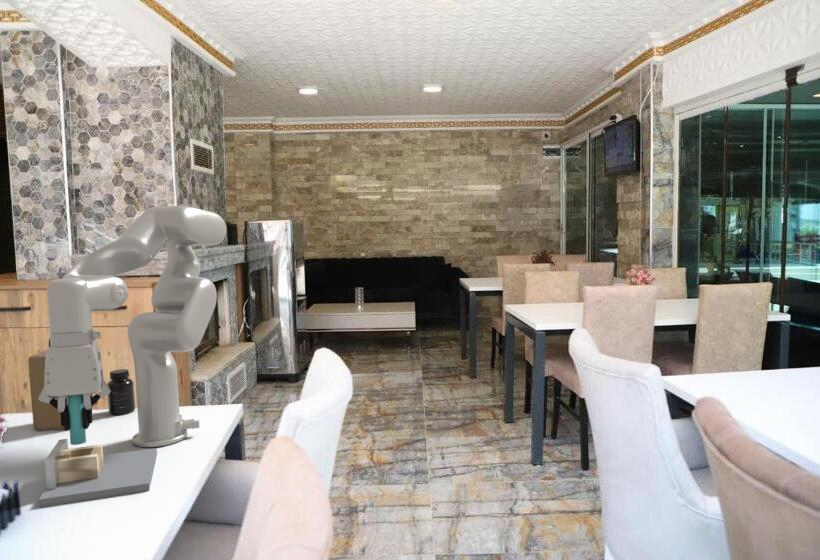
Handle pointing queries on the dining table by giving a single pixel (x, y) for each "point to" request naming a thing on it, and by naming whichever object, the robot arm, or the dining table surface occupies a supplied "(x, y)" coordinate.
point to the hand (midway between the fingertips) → (77, 427)
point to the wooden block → (42, 412)
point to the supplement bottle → (121, 393)
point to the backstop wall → (54, 464)
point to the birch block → (80, 463)
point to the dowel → (76, 419)
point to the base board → (108, 479)
